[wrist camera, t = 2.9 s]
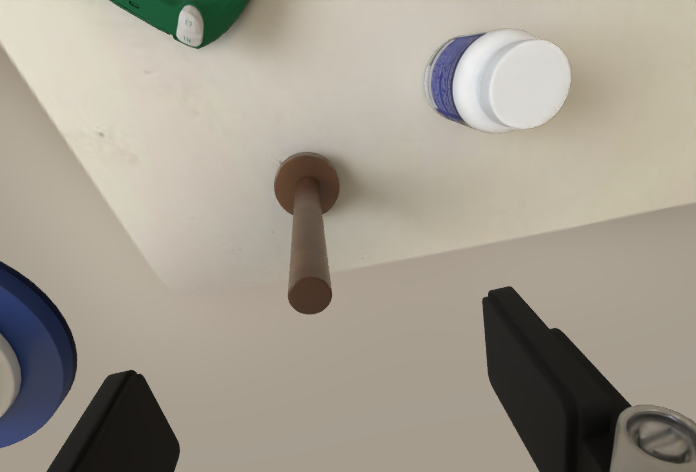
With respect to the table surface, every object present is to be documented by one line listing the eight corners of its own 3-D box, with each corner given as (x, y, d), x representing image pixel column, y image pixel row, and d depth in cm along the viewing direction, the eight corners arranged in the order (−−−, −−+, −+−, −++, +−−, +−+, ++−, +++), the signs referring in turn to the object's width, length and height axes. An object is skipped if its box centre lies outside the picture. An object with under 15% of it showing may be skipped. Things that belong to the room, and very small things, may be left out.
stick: (284, 218, 30) (267, 357, 16) (267, 159, 28) (232, 257, 14) (343, 205, 30) (379, 331, 16) (330, 145, 28) (357, 229, 14)
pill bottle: (428, 128, 28) (479, 155, 20) (417, 46, 26) (468, 38, 18) (503, 109, 28) (584, 129, 20) (498, 26, 26) (586, 9, 18)
